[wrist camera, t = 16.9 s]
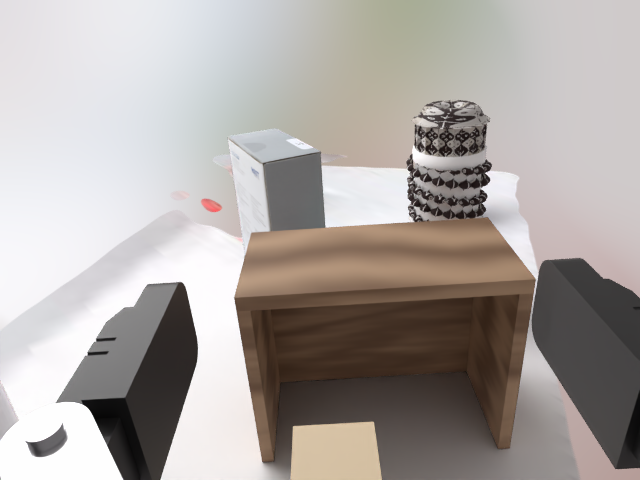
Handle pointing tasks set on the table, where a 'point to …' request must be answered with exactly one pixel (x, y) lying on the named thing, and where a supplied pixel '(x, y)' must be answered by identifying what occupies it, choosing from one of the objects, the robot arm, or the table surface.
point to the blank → (335, 452)
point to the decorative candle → (448, 162)
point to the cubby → (384, 311)
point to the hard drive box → (276, 182)
